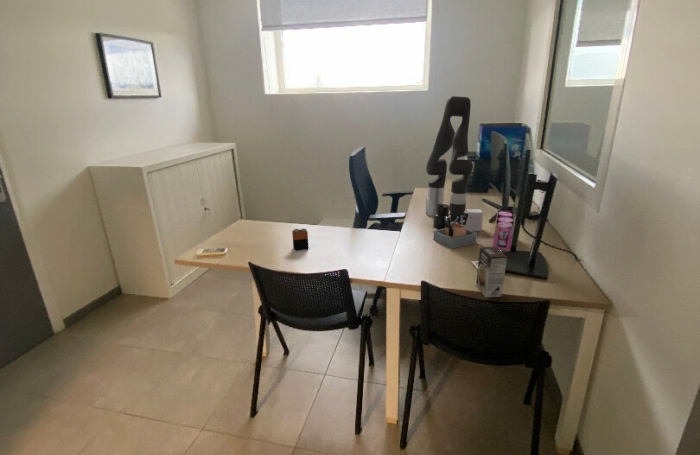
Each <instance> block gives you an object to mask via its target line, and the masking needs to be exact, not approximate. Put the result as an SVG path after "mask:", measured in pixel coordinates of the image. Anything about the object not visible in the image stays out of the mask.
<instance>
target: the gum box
mask: <svg viewBox="0 0 700 455" xmlns="http://www.w3.org/2000/svg"><path fill="white" fill-rule="evenodd" d="M513 211H514V210H513ZM513 211H512V210H506V209H505V210H504V209H498V210H497V214H496V219H495V224H494V225H495V226H494V232H493V233H494V234H493V240H492V247H497V248H498V249H499V250H508V251H510V252H511V247H512V240H513V233H514V228H513V223H514V224H515V218H514V219H513Z"/></svg>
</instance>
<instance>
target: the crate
mask: <svg viewBox="0 0 700 455" xmlns="http://www.w3.org/2000/svg"><path fill="white" fill-rule="evenodd" d="M477 235H478V234H477V233H476V231H470V230H467V229H466V236H462V237H458V238H455V239H454V238H451V237H449V236H447V235H445V228H444V229H437V230H434V231H433V239H432V240H433V241H435V242H438V243H441V244H442V245H444V246H446V247H449V248H450V249H457V248H460V247H463V246H467V245H470V244H474V243H477V242H476V241H477V237H478V236H477Z"/></svg>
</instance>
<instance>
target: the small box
mask: <svg viewBox="0 0 700 455" xmlns="http://www.w3.org/2000/svg"><path fill="white" fill-rule="evenodd" d="M465 213H468V214H469V215H468V218H467V222H466V225H463V226H466V227H467V228H466V229H467V230H470V231H472V232H481V231H482V228H483V227H482V226H483V217H484V212H483V211H482V209H481V208H480V209H477V208H476V209H474V208H473V209H472V208H471V209H469V208H467V209H466V208H465Z"/></svg>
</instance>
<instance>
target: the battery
mask: <svg viewBox="0 0 700 455" xmlns="http://www.w3.org/2000/svg"><path fill="white" fill-rule="evenodd" d="M291 234H292V245H293V250H294V251H296V252H297V251H305V250H309V234H308V229H307V228H300V229H299V228H294V229H293V230H292V232H291Z"/></svg>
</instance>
